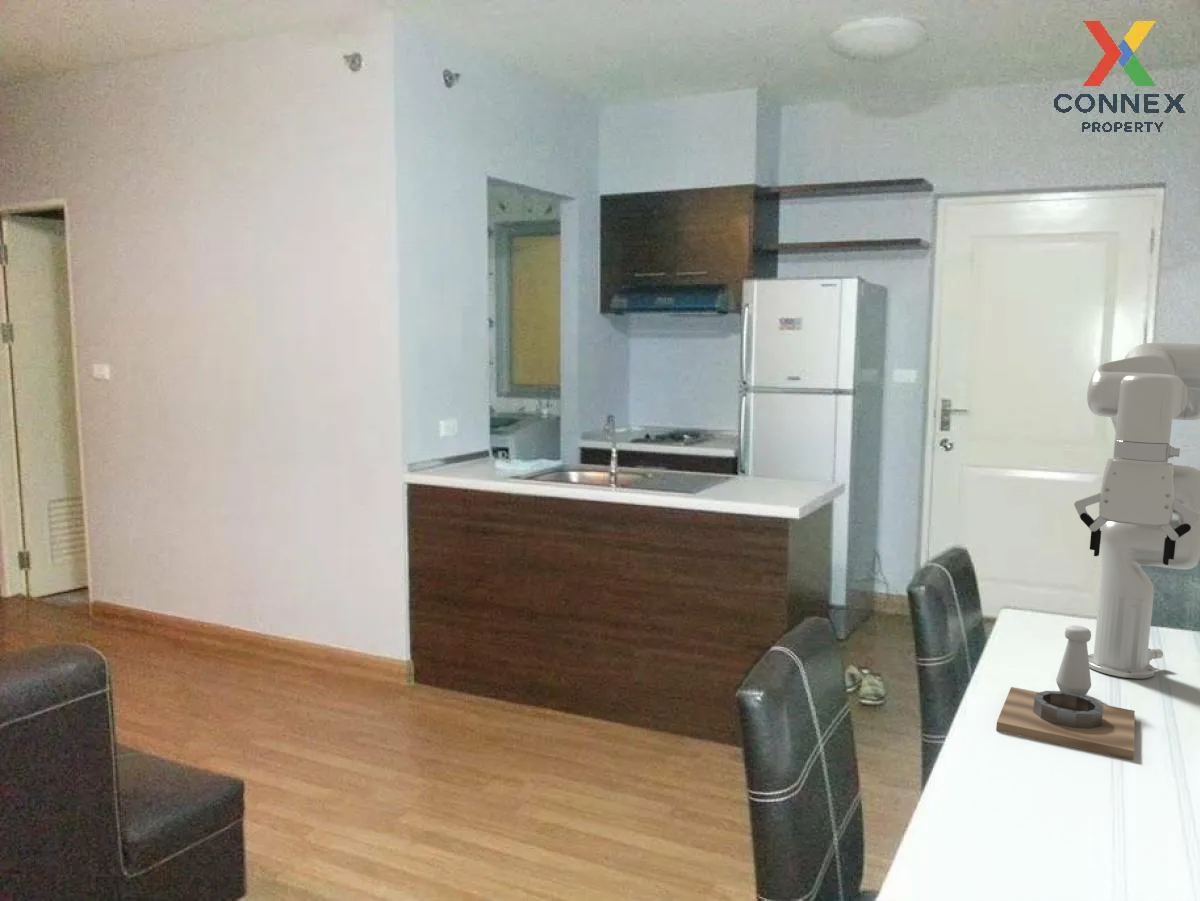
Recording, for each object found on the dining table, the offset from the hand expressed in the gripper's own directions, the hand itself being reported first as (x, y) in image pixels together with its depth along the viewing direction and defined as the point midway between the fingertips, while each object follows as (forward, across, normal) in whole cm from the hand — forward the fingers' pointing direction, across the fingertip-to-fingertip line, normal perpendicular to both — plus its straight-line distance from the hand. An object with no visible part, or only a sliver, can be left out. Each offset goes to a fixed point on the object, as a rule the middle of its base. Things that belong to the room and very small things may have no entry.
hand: (1130, 559), depth 149 cm
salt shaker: (+31, +7, -22) cm, 38 cm away
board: (+31, +7, -5) cm, 32 cm away
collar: (+29, +7, -5) cm, 30 cm away
